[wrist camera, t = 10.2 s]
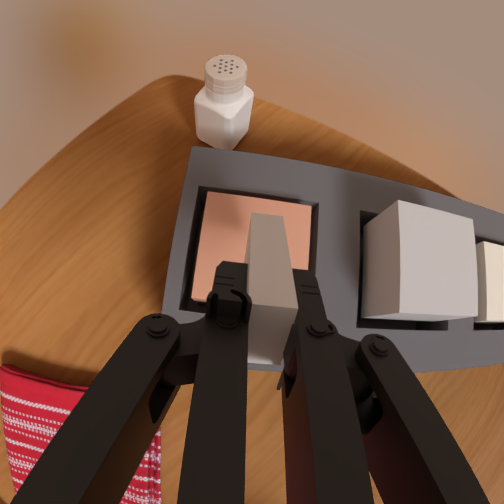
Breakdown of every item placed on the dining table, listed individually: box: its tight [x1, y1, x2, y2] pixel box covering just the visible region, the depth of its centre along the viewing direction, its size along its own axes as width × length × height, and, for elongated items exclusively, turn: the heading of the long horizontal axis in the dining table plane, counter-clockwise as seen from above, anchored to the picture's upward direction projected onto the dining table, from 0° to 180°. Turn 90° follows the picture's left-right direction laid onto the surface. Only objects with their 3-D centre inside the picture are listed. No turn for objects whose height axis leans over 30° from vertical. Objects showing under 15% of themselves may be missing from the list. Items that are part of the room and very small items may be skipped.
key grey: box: [361, 200, 478, 321], centre depth 19 cm, size 6×6×5 cm
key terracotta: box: [191, 191, 311, 306], centre depth 21 cm, size 6×6×5 cm
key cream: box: [473, 241, 504, 325], centre depth 22 cm, size 6×6×5 cm
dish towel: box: [0, 364, 161, 504], centre depth 19 cm, size 17×24×3 cm
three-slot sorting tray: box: [161, 146, 504, 373], centre depth 24 cm, size 32×14×8 cm, turn 84°
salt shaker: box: [194, 54, 254, 150], centre depth 25 cm, size 4×4×10 cm
